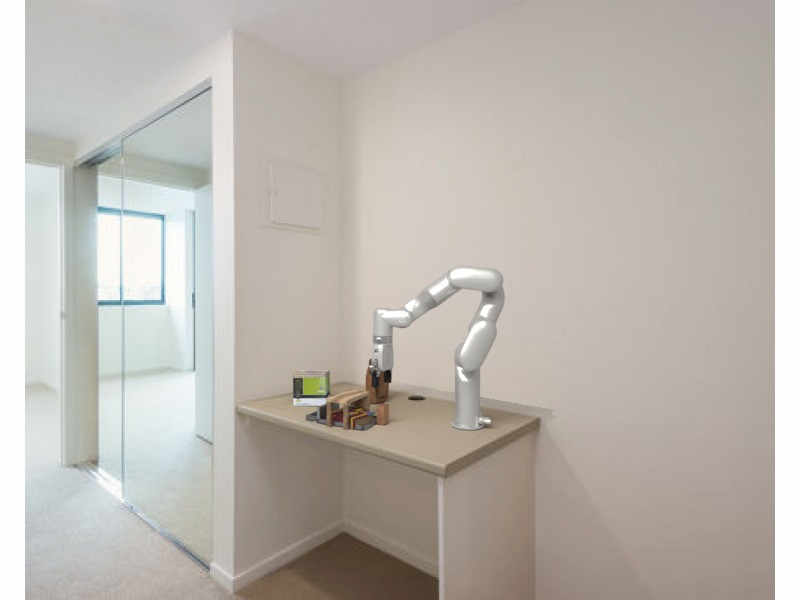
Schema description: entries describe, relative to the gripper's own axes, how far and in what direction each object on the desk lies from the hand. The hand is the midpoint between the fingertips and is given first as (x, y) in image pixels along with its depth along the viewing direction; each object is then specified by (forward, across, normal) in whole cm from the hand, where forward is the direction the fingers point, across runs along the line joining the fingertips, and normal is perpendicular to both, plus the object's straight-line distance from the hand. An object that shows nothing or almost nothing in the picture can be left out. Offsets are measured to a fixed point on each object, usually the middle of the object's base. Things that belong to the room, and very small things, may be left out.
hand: (381, 384), depth 162 cm
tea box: (+16, +13, +42) cm, 47 cm away
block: (+15, +29, +18) cm, 37 cm away
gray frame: (+16, -4, +26) cm, 30 cm away
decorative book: (+16, -4, +11) cm, 20 cm away
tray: (+15, -4, +10) cm, 18 cm away
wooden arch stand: (+15, -4, +12) cm, 20 cm away
